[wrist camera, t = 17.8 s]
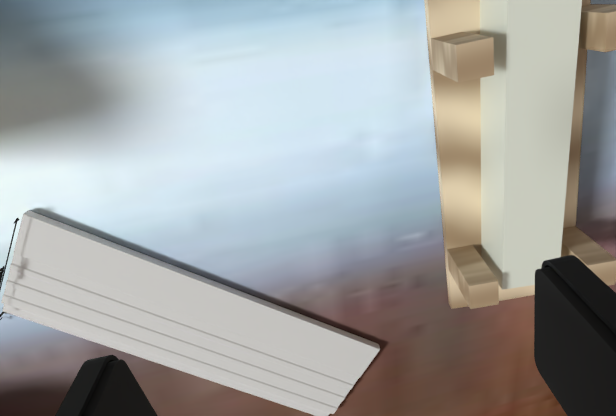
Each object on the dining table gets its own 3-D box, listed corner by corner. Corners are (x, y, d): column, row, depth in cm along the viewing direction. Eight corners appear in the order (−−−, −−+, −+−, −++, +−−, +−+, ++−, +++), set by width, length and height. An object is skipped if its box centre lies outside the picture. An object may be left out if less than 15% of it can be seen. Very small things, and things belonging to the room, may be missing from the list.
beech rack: (422, -31, 27) (451, -39, 22) (587, -68, 26) (658, -85, 21) (448, 303, 38) (472, 351, 33) (566, 282, 37) (609, 328, 32)
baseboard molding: (318, 420, 45) (377, 337, 40) (320, 446, 42) (382, 360, 38) (5, 316, 39) (33, 204, 34) (-17, 339, 36) (11, 221, 31)
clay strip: (479, -14, 27) (507, -16, 23) (546, -27, 27) (584, -31, 23) (481, 260, 35) (502, 289, 32) (531, 252, 35) (558, 281, 31)
